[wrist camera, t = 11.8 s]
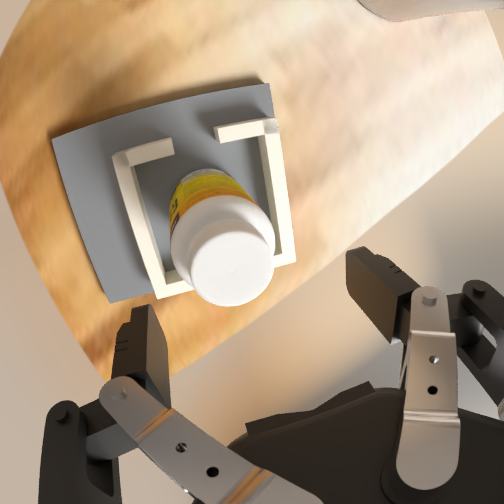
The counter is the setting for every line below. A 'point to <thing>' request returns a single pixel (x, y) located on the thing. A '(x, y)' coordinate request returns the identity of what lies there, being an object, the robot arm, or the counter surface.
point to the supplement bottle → (220, 238)
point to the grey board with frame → (168, 180)
